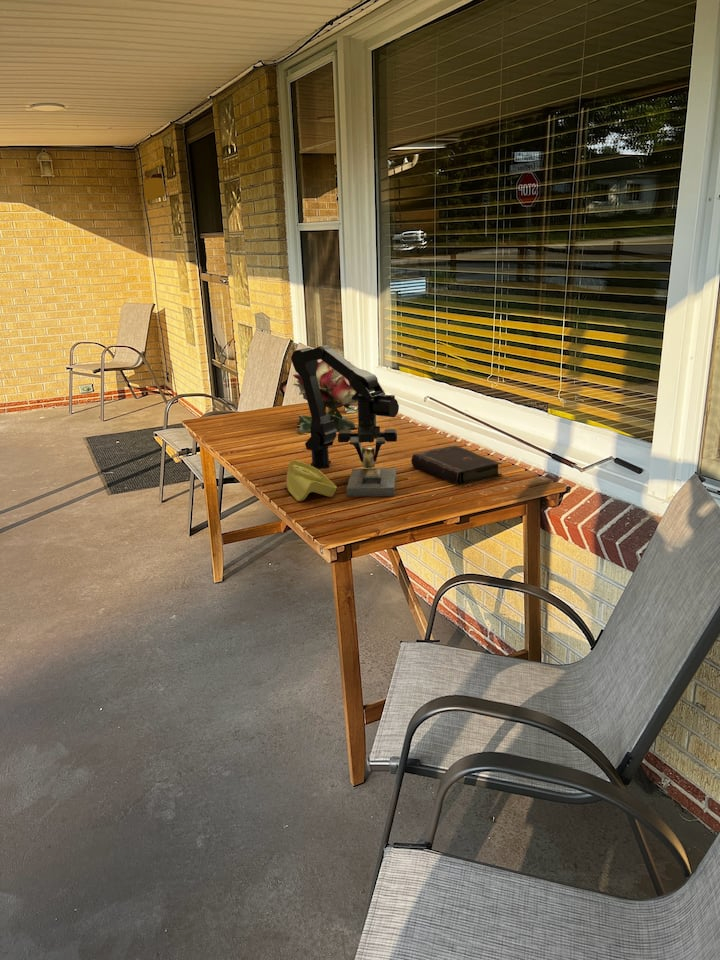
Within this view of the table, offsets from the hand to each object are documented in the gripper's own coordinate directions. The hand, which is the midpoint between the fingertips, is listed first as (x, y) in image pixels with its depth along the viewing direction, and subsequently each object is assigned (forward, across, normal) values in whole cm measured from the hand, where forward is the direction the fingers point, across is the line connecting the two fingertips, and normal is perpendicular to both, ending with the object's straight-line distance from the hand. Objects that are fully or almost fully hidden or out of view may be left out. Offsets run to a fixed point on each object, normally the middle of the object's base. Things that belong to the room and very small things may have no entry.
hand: (368, 461), depth 234 cm
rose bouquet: (+4, -22, +68) cm, 72 cm away
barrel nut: (+2, 0, 0) cm, 2 cm away
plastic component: (+4, -17, -17) cm, 24 cm away
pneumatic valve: (+4, -14, +92) cm, 93 cm away
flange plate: (+4, +2, -13) cm, 14 cm away
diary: (+4, +28, +1) cm, 29 cm away
